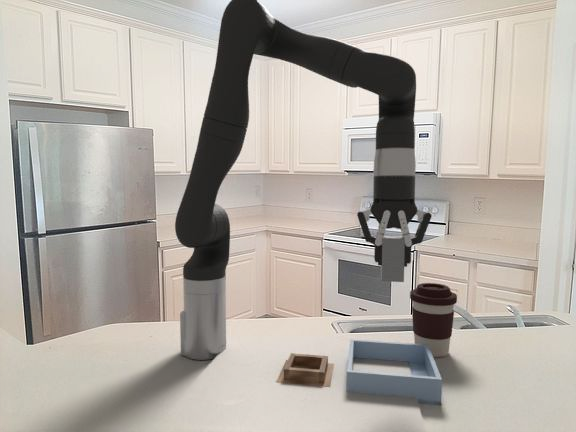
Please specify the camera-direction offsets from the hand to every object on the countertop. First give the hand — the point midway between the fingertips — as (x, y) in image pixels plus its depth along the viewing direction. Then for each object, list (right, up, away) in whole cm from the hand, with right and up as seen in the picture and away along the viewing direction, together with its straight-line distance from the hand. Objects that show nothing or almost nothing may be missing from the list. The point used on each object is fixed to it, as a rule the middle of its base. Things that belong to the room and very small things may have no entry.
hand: (392, 264), depth 79 cm
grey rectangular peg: (0, -3, 0) cm, 3 cm away
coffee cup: (+13, -22, +16) cm, 29 cm away
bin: (0, -22, +2) cm, 22 cm away
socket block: (-16, -22, +3) cm, 28 cm away
